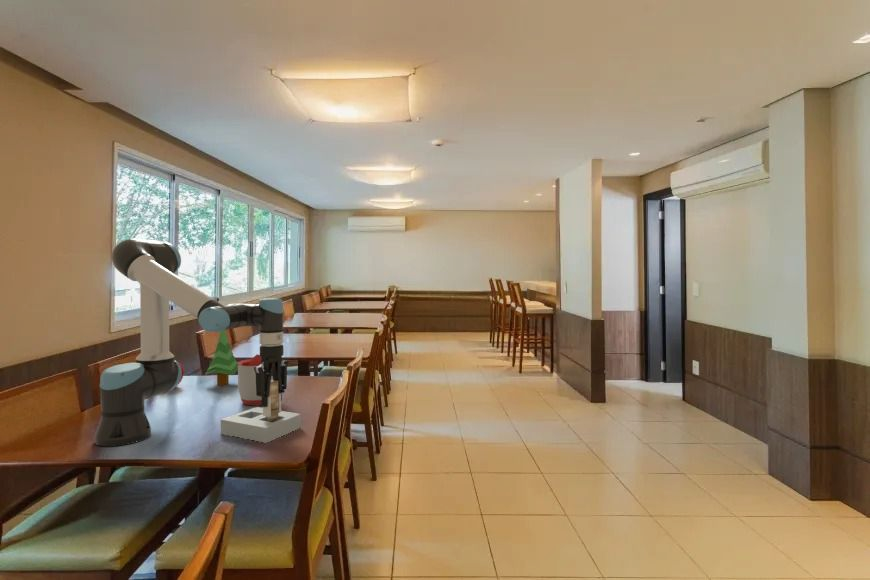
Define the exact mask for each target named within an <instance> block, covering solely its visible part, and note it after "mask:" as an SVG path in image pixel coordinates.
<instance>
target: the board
mask: <svg viewBox="0 0 870 580" xmlns="http://www.w3.org/2000/svg"><path fill="white" fill-rule="evenodd" d="M278 418H279V420H277V421H275V422H267V421H266V416H263V407H262V406H261V407H260V406H255V407H252V408H250V409H247V410H243V411H241V412H238V413H235V414H232V415H229V416H227V417H226V416H225V417H223V418H220V435H222V434H224V435H223V436H227V435H230V436H229V437H232V436H235V437H234V438H236V437H240V438H239V439H241V438H245V439H244V440H246V439H250V440H249V441H251V440H255V441H254V442H256V441H261V442H266V443H267V442H269V441H271V440H273V439H276V438H278V437H280V438H282V437H281V436H283V435H285V436H287V435H289V434H291V433H293V432H292V431H294V430H296V431H298V430H300V429H301V428H302V424H301V423H302V416H301V413H297V412H290V411H284V410H281V412H280V413H278ZM299 428H300V429H299ZM297 429H298V430H297ZM290 432H291V433H290ZM294 432H295V431H294ZM288 433H289V434H288ZM286 434H287V435H286ZM283 437H284V436H283ZM278 439H279V438H278ZM276 440H277V439H276ZM261 442H260V443H261ZM269 443H270V442H269ZM267 444H268V443H267Z"/></svg>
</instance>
